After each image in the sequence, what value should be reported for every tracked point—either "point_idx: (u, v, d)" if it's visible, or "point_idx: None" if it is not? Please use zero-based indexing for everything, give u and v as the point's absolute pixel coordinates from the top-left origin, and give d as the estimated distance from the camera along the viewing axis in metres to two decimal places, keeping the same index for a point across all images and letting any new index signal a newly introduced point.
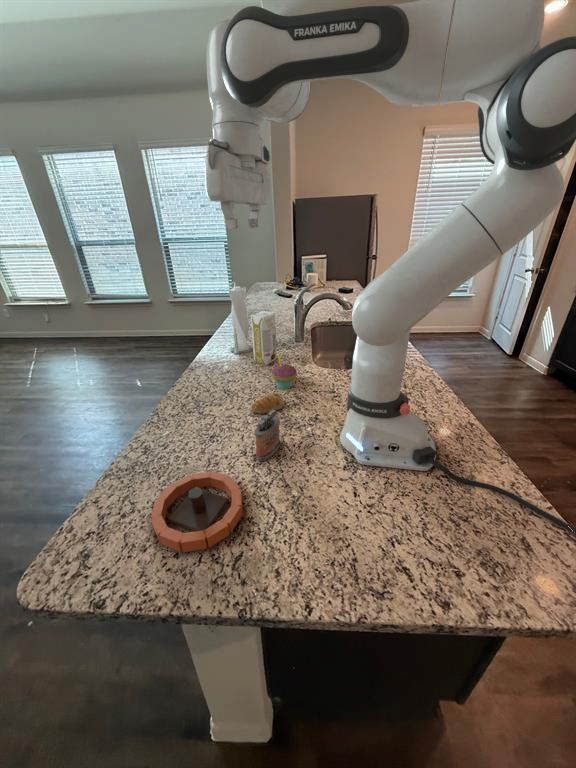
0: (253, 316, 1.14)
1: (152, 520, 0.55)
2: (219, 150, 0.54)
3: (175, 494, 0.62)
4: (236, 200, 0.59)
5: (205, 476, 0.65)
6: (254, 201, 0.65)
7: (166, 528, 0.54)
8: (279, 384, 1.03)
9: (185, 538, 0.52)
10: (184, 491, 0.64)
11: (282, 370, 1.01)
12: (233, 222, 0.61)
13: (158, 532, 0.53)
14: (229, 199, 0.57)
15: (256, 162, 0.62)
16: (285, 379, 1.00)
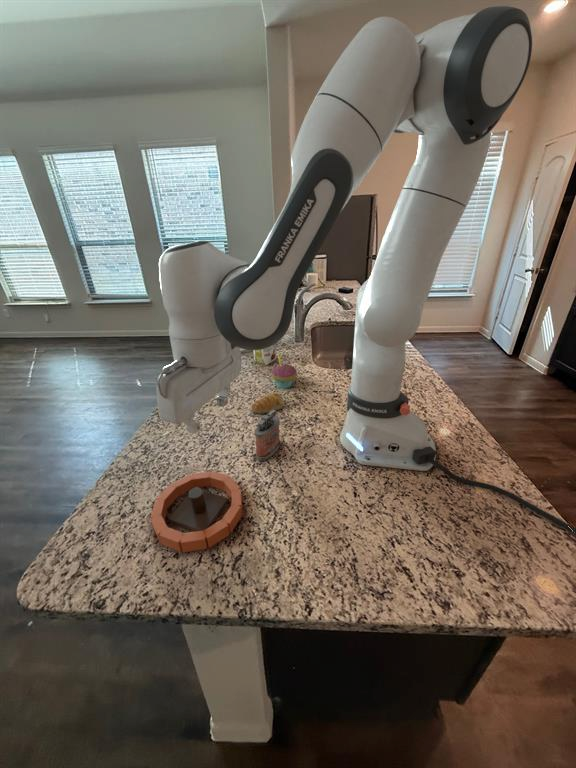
0: None
1: (152, 520, 0.55)
2: (173, 374, 0.47)
3: (175, 494, 0.62)
4: (196, 410, 0.52)
5: (205, 476, 0.65)
6: (221, 389, 0.58)
7: (166, 528, 0.54)
8: (279, 384, 1.03)
9: (185, 538, 0.52)
10: (184, 491, 0.64)
11: (281, 370, 1.01)
12: (194, 428, 0.53)
13: (158, 532, 0.53)
14: (187, 418, 0.49)
15: None
16: (285, 379, 1.00)
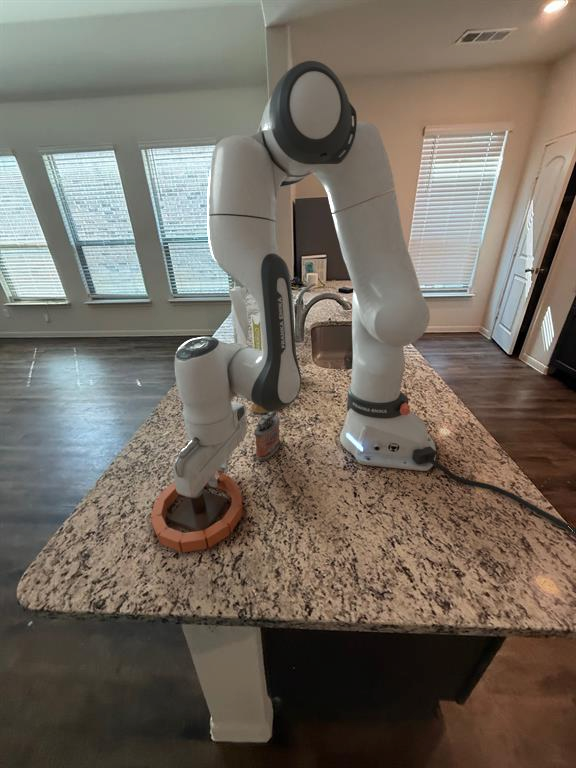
0: (253, 316, 1.14)
1: (152, 520, 0.55)
2: (188, 456, 0.53)
3: (175, 494, 0.62)
4: (208, 480, 0.58)
5: None
6: (229, 455, 0.64)
7: (166, 528, 0.54)
8: None
9: (185, 538, 0.52)
10: None
11: None
12: (215, 483, 0.62)
13: (158, 532, 0.53)
14: None
15: None
16: None
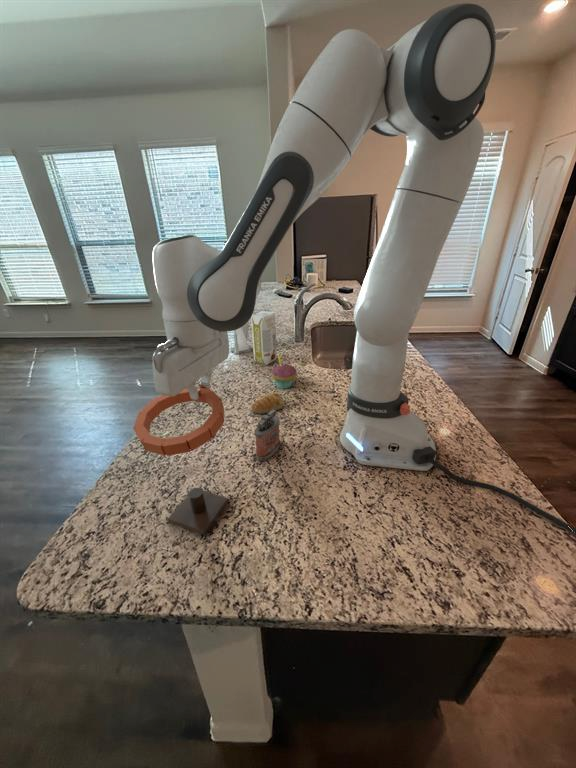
0: (253, 316, 1.14)
1: (135, 430, 0.57)
2: (167, 352, 0.53)
3: (158, 408, 0.63)
4: (188, 385, 0.58)
5: (186, 391, 0.65)
6: (211, 369, 0.64)
7: (149, 435, 0.55)
8: (279, 384, 1.03)
9: (167, 442, 0.54)
10: (167, 406, 0.65)
11: (282, 370, 1.01)
12: (196, 395, 0.63)
13: (141, 439, 0.55)
14: (180, 391, 0.56)
15: None
16: (285, 379, 1.00)
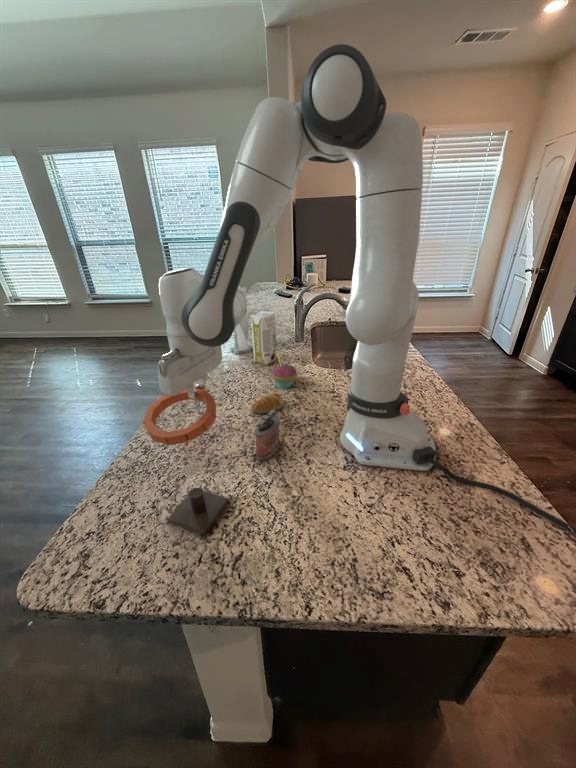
0: (253, 316, 1.14)
1: (144, 424, 0.71)
2: (169, 360, 0.67)
3: (162, 406, 0.77)
4: (187, 387, 0.72)
5: (185, 391, 0.78)
6: (206, 373, 0.78)
7: (155, 429, 0.69)
8: (279, 384, 1.03)
9: (169, 435, 0.68)
10: (170, 404, 0.78)
11: (281, 370, 1.01)
12: (193, 395, 0.76)
13: (149, 432, 0.69)
14: (179, 392, 0.70)
15: None
16: (285, 379, 1.00)
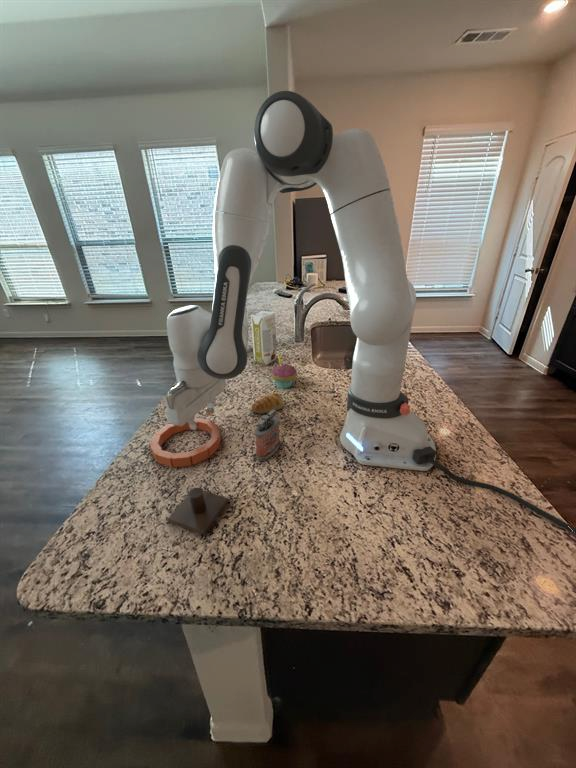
0: (253, 316, 1.14)
1: (151, 446, 0.74)
2: (177, 393, 0.71)
3: (169, 432, 0.81)
4: (193, 416, 0.76)
5: None
6: (210, 401, 0.82)
7: (161, 450, 0.72)
8: (279, 384, 1.03)
9: (175, 456, 0.70)
10: (176, 431, 0.82)
11: (281, 370, 1.01)
12: (194, 426, 0.78)
13: (155, 453, 0.71)
14: (186, 422, 0.73)
15: None
16: (285, 379, 1.00)
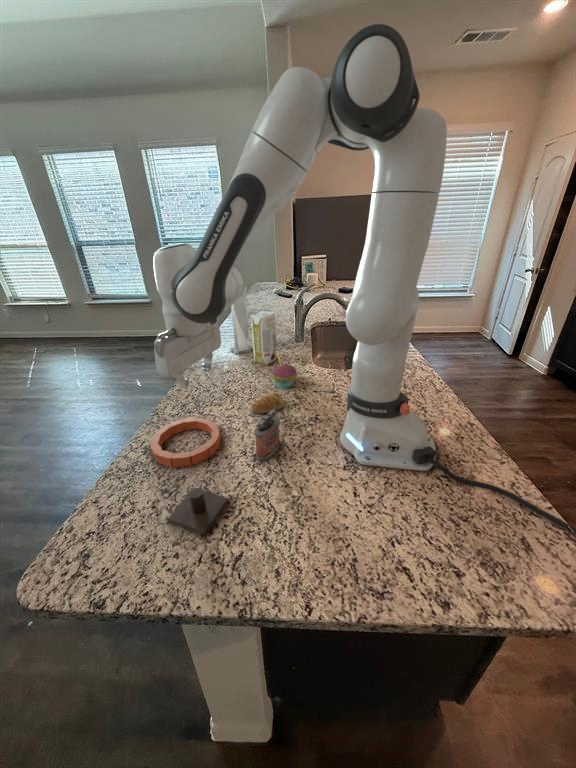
0: (253, 316, 1.14)
1: (151, 446, 0.74)
2: (166, 340, 0.65)
3: (169, 432, 0.81)
4: None
5: (192, 420, 0.83)
6: (204, 356, 0.76)
7: (161, 450, 0.72)
8: (279, 384, 1.03)
9: (175, 456, 0.70)
10: (176, 431, 0.82)
11: (281, 370, 1.01)
12: (184, 383, 0.71)
13: (155, 453, 0.71)
14: (177, 373, 0.67)
15: None
16: (285, 379, 1.00)
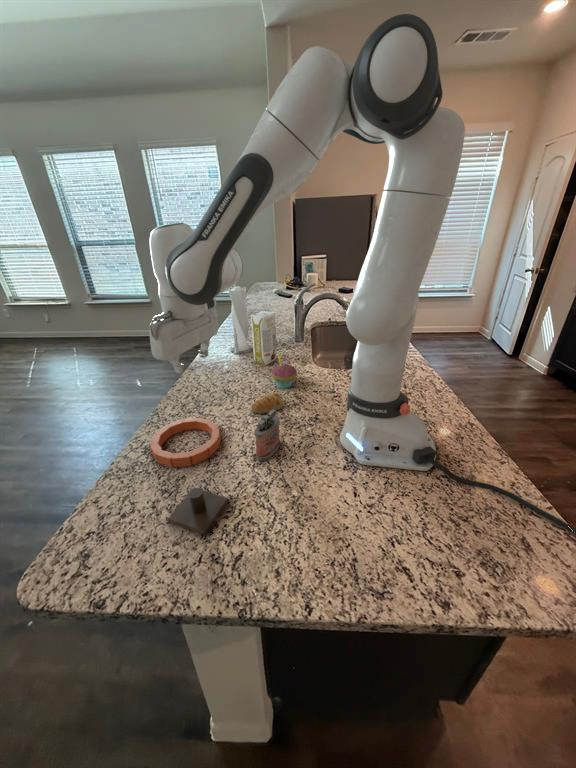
0: (253, 316, 1.14)
1: (151, 446, 0.74)
2: (162, 322, 0.63)
3: (169, 432, 0.81)
4: (181, 353, 0.68)
5: (192, 420, 0.83)
6: (201, 341, 0.74)
7: (161, 450, 0.72)
8: (279, 384, 1.03)
9: (175, 456, 0.70)
10: (176, 431, 0.82)
11: (281, 370, 1.01)
12: (179, 368, 0.70)
13: (155, 453, 0.71)
14: (173, 357, 0.66)
15: None
16: (285, 379, 1.00)
